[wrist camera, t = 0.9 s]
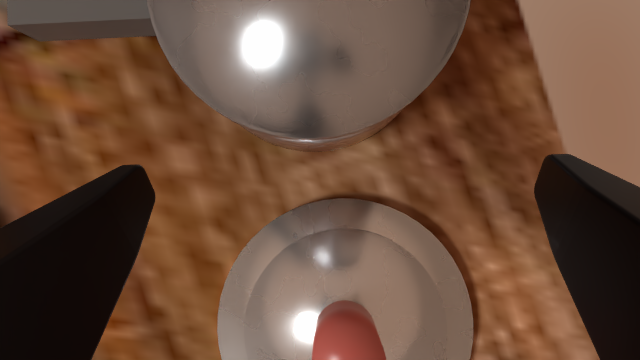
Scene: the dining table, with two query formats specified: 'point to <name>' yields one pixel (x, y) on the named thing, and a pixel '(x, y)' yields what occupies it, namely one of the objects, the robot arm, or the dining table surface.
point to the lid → (345, 289)
